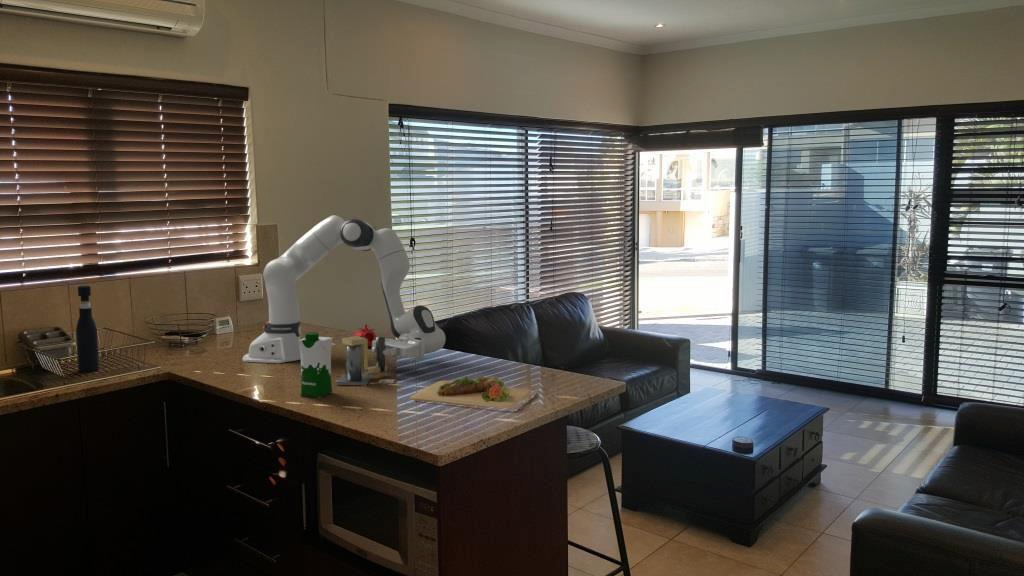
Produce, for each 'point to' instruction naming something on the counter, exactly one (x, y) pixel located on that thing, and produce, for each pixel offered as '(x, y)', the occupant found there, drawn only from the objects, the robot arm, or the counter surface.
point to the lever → (364, 342)
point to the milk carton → (315, 365)
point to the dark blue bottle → (86, 334)
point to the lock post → (356, 368)
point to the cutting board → (472, 393)
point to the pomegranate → (366, 334)
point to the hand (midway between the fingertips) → (378, 351)
